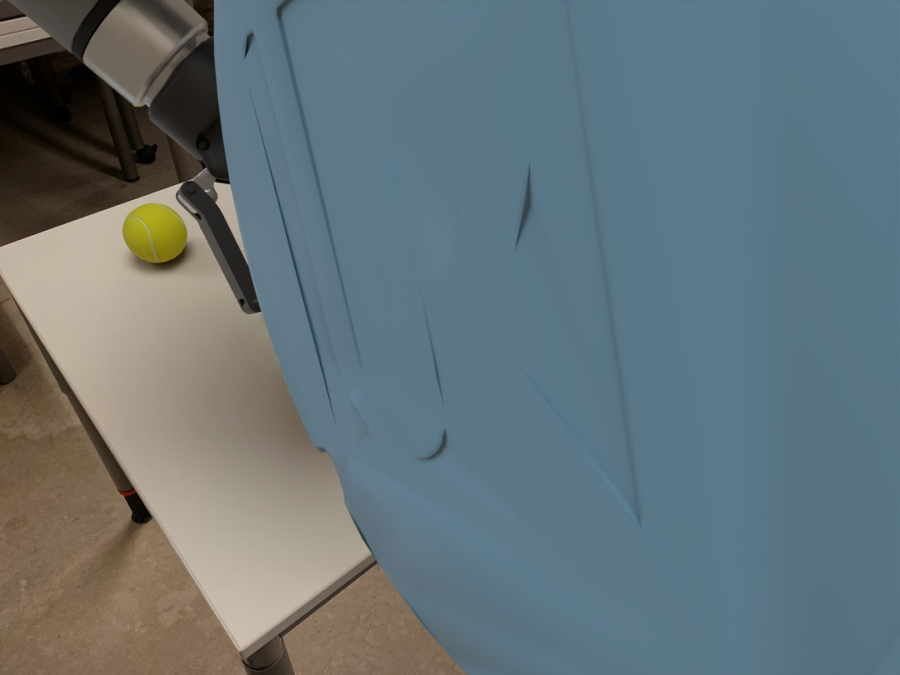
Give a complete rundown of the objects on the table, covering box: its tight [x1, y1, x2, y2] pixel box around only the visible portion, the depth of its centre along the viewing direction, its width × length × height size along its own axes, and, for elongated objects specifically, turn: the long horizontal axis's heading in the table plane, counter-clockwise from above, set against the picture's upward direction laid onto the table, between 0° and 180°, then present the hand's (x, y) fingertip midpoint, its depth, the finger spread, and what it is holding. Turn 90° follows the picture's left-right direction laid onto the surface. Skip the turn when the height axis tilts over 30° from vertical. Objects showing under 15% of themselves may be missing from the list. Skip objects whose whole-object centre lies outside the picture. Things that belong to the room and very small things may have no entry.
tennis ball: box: [122, 202, 188, 264], centre depth 80 cm, size 7×7×7 cm
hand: (404, 274), depth 53 cm, fingers open, 13 cm apart
